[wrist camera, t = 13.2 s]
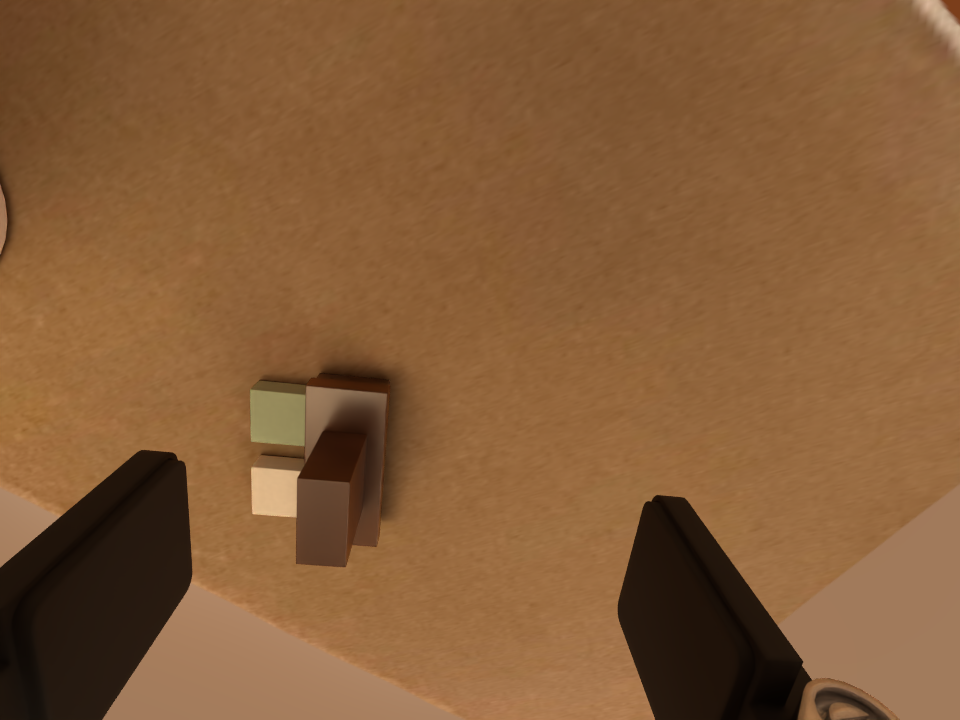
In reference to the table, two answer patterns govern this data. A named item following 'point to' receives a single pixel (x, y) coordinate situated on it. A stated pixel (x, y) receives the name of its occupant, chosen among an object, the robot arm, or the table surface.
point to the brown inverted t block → (341, 467)
